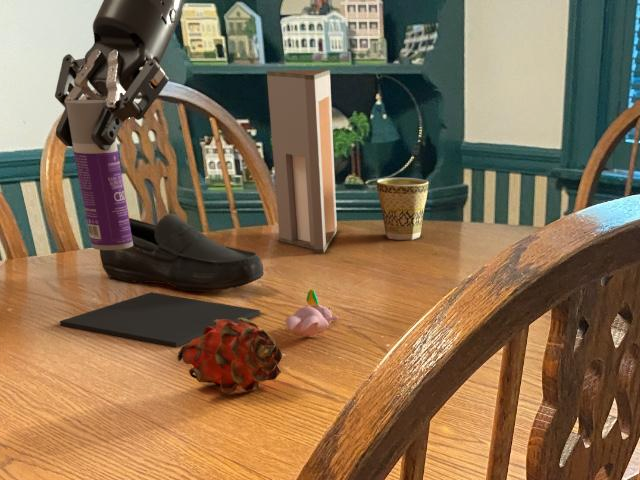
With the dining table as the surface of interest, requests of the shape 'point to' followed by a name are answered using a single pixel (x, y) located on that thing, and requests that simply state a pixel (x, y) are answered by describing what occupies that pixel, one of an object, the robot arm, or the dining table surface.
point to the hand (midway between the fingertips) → (81, 142)
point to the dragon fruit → (233, 355)
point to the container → (99, 179)
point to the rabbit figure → (311, 317)
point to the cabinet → (303, 156)
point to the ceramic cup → (402, 206)
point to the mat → (158, 318)
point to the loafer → (180, 258)
